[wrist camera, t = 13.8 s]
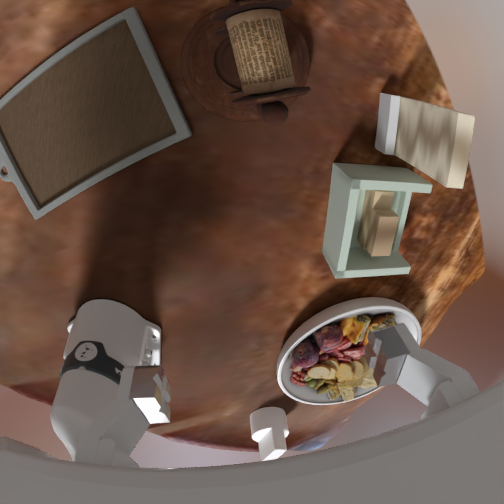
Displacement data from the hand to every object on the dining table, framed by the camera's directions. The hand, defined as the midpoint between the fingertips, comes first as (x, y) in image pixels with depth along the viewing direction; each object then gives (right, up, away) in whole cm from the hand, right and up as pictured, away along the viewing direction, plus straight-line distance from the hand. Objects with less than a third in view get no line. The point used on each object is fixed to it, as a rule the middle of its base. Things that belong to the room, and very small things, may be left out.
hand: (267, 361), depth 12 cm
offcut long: (+17, +10, +33) cm, 38 cm away
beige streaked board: (+19, +22, +26) cm, 39 cm away
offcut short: (+17, +7, +31) cm, 36 cm away
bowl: (+19, -15, +50) cm, 55 cm away
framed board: (-25, +22, +23) cm, 41 cm away
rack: (+16, +10, +34) cm, 39 cm away
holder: (+19, +22, +27) cm, 40 cm away
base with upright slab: (+3, -37, +61) cm, 72 cm away
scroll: (-2, +27, +22) cm, 35 cm away
